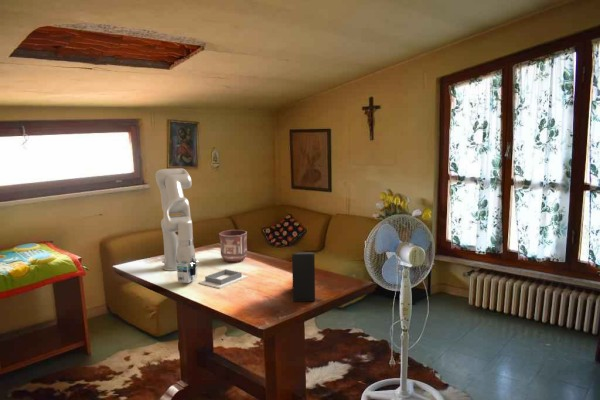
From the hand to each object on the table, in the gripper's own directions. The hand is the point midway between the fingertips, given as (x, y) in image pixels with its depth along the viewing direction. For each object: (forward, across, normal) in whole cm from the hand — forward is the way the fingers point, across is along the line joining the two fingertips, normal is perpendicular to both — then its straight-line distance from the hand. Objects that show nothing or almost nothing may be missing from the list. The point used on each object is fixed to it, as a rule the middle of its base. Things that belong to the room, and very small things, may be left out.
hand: (187, 273), depth 244 cm
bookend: (+4, +62, +20) cm, 66 cm away
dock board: (+5, +14, +14) cm, 20 cm away
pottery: (+6, -9, +47) cm, 48 cm away
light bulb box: (+4, 0, 0) cm, 4 cm away
